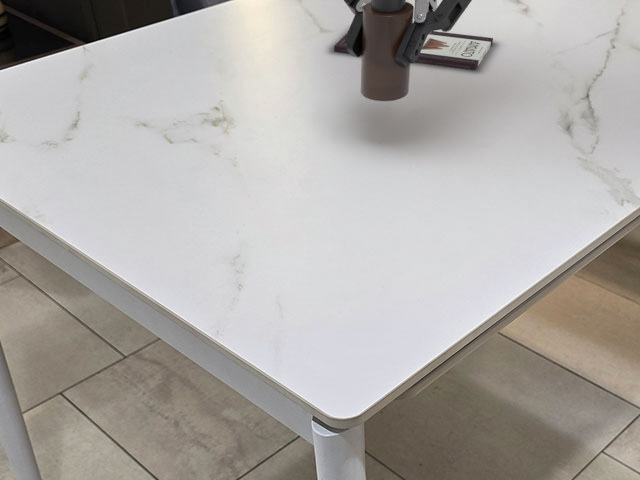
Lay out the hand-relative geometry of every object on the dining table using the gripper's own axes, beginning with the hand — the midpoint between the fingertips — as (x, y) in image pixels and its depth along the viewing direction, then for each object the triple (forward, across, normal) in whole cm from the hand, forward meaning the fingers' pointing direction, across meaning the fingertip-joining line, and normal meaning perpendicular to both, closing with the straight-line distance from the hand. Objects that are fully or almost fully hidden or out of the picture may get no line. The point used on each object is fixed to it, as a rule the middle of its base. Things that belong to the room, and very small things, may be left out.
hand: (376, 57), depth 83 cm
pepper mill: (+2, 0, +4) cm, 5 cm away
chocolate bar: (-11, -9, +25) cm, 29 cm away
